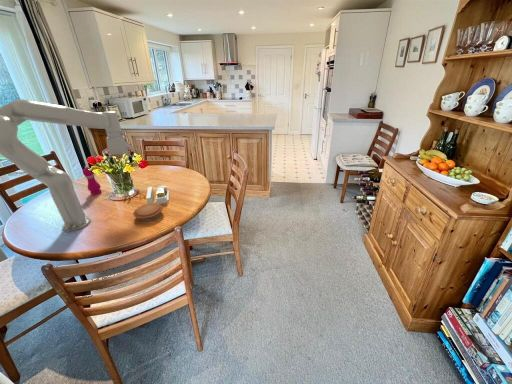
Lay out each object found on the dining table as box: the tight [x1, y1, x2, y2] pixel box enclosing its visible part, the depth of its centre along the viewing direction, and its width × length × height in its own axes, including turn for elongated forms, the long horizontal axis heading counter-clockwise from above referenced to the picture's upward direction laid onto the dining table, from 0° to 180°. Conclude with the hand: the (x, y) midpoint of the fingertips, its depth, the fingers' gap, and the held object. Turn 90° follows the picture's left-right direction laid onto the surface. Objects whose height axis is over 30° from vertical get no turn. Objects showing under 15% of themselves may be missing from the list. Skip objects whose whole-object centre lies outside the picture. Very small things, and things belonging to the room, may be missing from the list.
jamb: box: [145, 185, 170, 205], centre depth 151 cm, size 17×12×5 cm
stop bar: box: [155, 185, 166, 197], centre depth 151 cm, size 11×4×6 cm, turn 18°
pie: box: [132, 202, 164, 222], centre depth 133 cm, size 16×16×5 cm
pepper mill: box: [82, 165, 103, 196], centre depth 156 cm, size 7×7×20 cm
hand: (122, 163), depth 140 cm, fingers open, 9 cm apart
